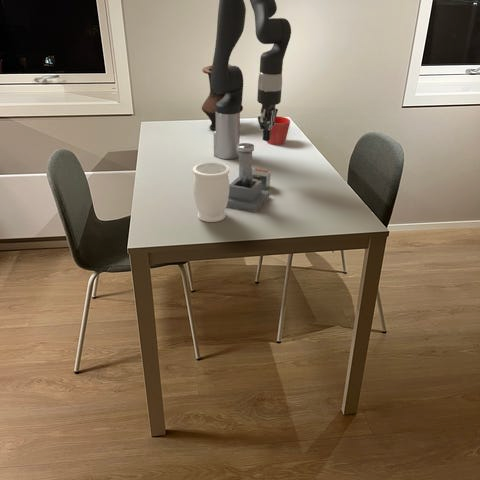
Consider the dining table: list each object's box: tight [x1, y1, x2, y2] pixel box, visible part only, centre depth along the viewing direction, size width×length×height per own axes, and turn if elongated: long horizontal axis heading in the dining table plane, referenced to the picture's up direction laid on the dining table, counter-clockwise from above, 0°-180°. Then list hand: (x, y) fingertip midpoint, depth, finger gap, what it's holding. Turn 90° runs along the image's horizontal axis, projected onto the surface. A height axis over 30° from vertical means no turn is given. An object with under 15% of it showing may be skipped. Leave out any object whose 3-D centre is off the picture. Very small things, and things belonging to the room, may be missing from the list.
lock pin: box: [252, 168, 269, 181], centre depth 158 cm, size 12×4×5 cm, turn 158°
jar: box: [192, 161, 230, 223], centre depth 138 cm, size 11×10×15 cm
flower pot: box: [266, 115, 291, 146], centre depth 202 cm, size 11×11×10 cm
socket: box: [226, 176, 270, 213], centre depth 150 cm, size 12×12×6 cm
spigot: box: [237, 142, 255, 188], centre depth 147 cm, size 5×5×16 cm
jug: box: [201, 63, 244, 132], centre depth 214 cm, size 21×18×30 cm
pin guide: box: [252, 169, 272, 191], centre depth 160 cm, size 7×4×5 cm, turn 68°
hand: (266, 140), depth 161 cm, fingers closed
